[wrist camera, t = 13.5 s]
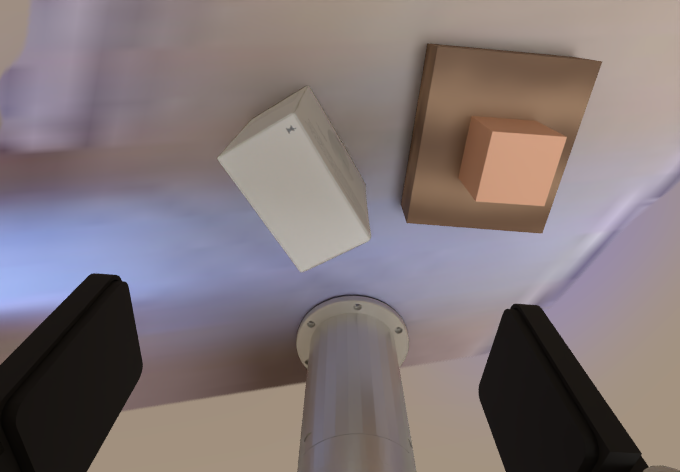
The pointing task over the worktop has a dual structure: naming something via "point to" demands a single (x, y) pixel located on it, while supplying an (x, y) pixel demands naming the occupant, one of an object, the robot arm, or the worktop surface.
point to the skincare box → (300, 180)
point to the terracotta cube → (510, 160)
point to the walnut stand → (487, 101)
